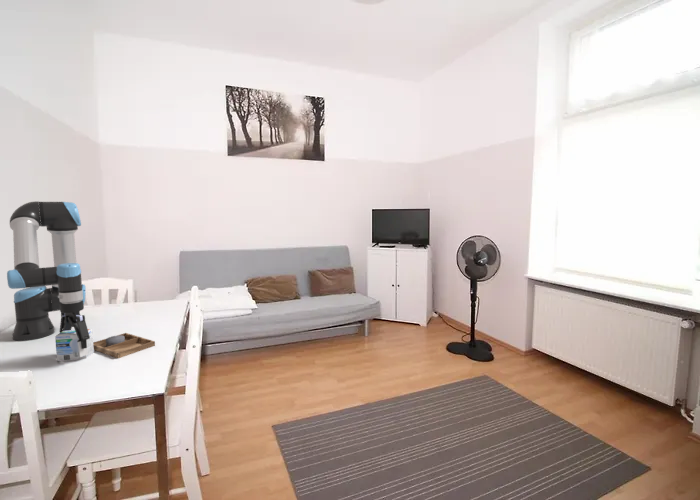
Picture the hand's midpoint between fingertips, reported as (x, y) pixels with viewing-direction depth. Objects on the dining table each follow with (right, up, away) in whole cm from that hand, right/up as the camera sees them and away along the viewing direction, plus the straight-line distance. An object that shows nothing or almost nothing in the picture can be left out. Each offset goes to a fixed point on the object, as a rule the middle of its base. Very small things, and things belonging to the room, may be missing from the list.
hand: (75, 352), depth 143 cm
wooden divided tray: (+12, -1, +10) cm, 16 cm away
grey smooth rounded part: (+8, 0, +13) cm, 15 cm away
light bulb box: (0, -2, 0) cm, 2 cm away
